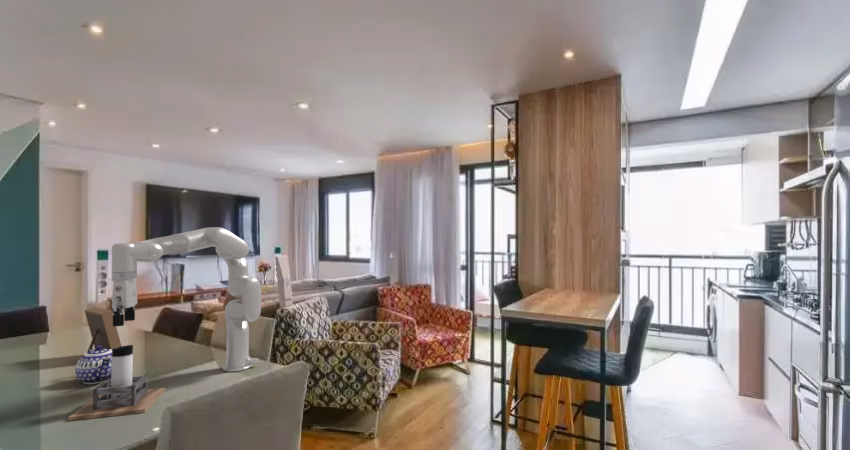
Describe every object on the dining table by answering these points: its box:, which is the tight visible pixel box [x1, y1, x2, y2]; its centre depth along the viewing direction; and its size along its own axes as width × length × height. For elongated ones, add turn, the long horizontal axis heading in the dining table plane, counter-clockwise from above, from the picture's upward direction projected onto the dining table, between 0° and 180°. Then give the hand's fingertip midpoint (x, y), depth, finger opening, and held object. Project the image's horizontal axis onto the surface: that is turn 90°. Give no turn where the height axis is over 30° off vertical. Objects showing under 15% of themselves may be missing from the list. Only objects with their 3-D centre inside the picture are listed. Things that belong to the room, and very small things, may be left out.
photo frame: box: [84, 306, 122, 352], centre depth 208 cm, size 15×22×25 cm
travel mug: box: [110, 344, 134, 400], centre depth 149 cm, size 6×7×20 cm
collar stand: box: [67, 374, 167, 422], centre depth 148 cm, size 22×22×8 cm
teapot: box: [74, 345, 112, 385], centre depth 175 cm, size 25×15×15 cm, turn 51°
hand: (124, 323), depth 150 cm, fingers open, 9 cm apart
